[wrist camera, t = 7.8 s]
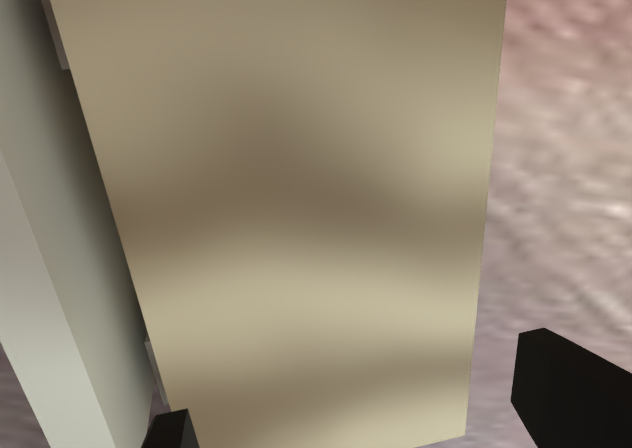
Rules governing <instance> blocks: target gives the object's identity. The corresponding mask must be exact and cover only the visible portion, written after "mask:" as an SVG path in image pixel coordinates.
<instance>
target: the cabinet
mask: <svg viewBox="0 0 632 448" xmlns="http://www.w3.org/2000/svg"><path fill="white" fill-rule="evenodd" d="M41 2H42V5H43V9H44V12H45V15H46V19H47V22H48V25H49V28H50V32H51V35H52V38H53V42H54V45H55V48H56V52H57V55H58V58H59V62H60V65H61V68H62V70H64V69H70V70H71V73H72V77H73V80H74V83H75V87H76V90H77V94H78V97H79V100H80V104H81V107H82V111H83V114H84V117H85V121H86V124H87V128H88V131H89V134H90V138H91V141H92V145H93V148H94V151H95V155H96V158H97V161H98V165H99V168H100V172H101V175H102V178H103V182H104V185H105V189H106V192H107V195H108V199H109V202H110V206H111V209H112V212H113V216H114V219H115V223H116V226H117V229H118V233H119V236H120V240H121V243H122V246H123V250H124V253H125V257H126V260H127V263H128V267H129V270H130V274H131V277H132V280H133V284H134V287H135V291H136V294H137V297H138V301H139V304H140V308H141V311H142V314H143V318H144V321H145V324H146V328H147V332H146V337H145V342H144V343H145V346H146V349H147V353H148V356H149V359H150V363H151V366H152V369H153V373H154V376H155V379H156V383H157V386H158V389H159V392H160V396H161V399H162V402H163V405H168V404H169V406H170V409H171V412H173V411H178V410H182V409H187V408H188V411H189V414H190V417H191V420H192V424H193V427H194V430H195V434H196V437H197V440H198V444H199V447H200V448H414V447H419V446H423V445H427V444H431V443H435V442H439V441H444V440H448V439H452V438H456V437H460V436H464V435H465V427H466V416H467V406H468V396H469V385H470V375H471V364H472V354H473V344H474V333H475V323H476V312H477V302H478V291H479V281H480V271H481V260H482V250H483V239H484V229H485V219H486V208H487V198H488V187H489V177H490V167H491V156H492V146H493V135H494V125H495V115H496V104H497V94H498V83H499V73H500V62H501V52H502V42H503V31H504V21H505V10H506V0H41Z"/></svg>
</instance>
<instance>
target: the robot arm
mask: <svg viewBox="0 0 632 448" xmlns="http://www.w3.org/2000/svg"><path fill="white" fill-rule="evenodd" d="M511 403H512V404H513V406H514V408H515V410H516V412H517V413H518V415H519V417H520V419H521V420H522V422H523V424H524V426H525V427H526V429H527V431H528V432H529V434H530V436H531V437H532V439H533V441H534V442H535V444H536V445H537V447H538V448H632V373H630V372H628V371H626V370H624V369H622V368H620V367H618V366H616V365H615V364H613V363H611V362H609V361H607V360H605V359H603V358H602V357H600V356H598V355H596V354H594V353H592V352H590V351H588V350H587V349H585V348H583V347H581V346H579V345H577V344H575V343H573V342H572V341H570V340H568V339H566V338H564V337H562V336H560V335H558V334H556V333H554V332H552V331H550V330H548V329H546V328H540V329H536V330H532V331H527V332H523V333H519V337H518V345H517V354H516V362H515V370H514V378H513V386H512V394H511ZM141 448H200V447H199V444H198V440H197V437H196V434H195V430H194V427H193V424H192V420H191V417H190V414H189V411H188V408H187V409H182V410H178V411H173V412H169V413H164V414H160V415H156V417H155V418H154V419H153V420H152V422H151V425H150V427H149V429H148V432H147V434H146V437H145V439H144V441H143V443H142V446H141Z"/></svg>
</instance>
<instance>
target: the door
mask: <svg viewBox="0 0 632 448" xmlns="http://www.w3.org/2000/svg"><path fill="white" fill-rule="evenodd" d="M146 332H147V328H146V324H145V321H144V318H143V314H142V311H141V308H140V304H139V301H138V297H137V294H136V291H135V287H134V284H133V280H132V277H131V274H130V270H129V267H128V263H127V260H126V257H125V253H124V250H123V246H122V243H121V240H120V236H119V233H118V229H117V226H116V223H115V219H114V216H113V212H112V209H111V206H110V202H109V199H108V195H107V192H106V189H105V185H104V182H103V178H102V175H101V172H100V168H99V165H98V161H97V158H96V155H95V151H94V148H93V145H92V141H91V138H90V134H89V131H88V128H87V124H86V121H85V117H84V114H83V111H82V107H81V104H80V100H79V97H78V94H77V90H76V87H75V83H74V80H73V77H72V73H71V70H70V69H64V70H62V68H61V65H60V62H59V58H58V55H57V52H56V48H55V45H54V42H53V38H52V35H51V32H50V28H49V25H48V22H47V19H46V15H45V12H44V9H43V5H42V2H41V0H0V342H1V344H2V346H3V348H4V350H5V353H6V355H7V357H8V359H9V361H10V363H11V365H12V367H13V369H14V372H15V374H16V376H17V378H18V380H19V382H20V384H21V386H22V388H23V390H24V393H25V395H26V397H27V399H28V401H29V403H30V405H31V407H32V409H33V411H34V414H35V416H36V418H37V420H38V422H39V424H40V426H41V428H42V430H43V432H44V435H45V437H46V439H47V441H48V443H49V445H50V447H51V448H141V446H142V443H143V441H144V439H145V437H146V434H147V428H148V422H149V416H150V409H151V403H152V397H153V391H154V384H155V376H154V373H153V369H152V366H151V363H150V359H149V356H148V353H147V349H146V346H145V343H144V342H145V337H146Z"/></svg>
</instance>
